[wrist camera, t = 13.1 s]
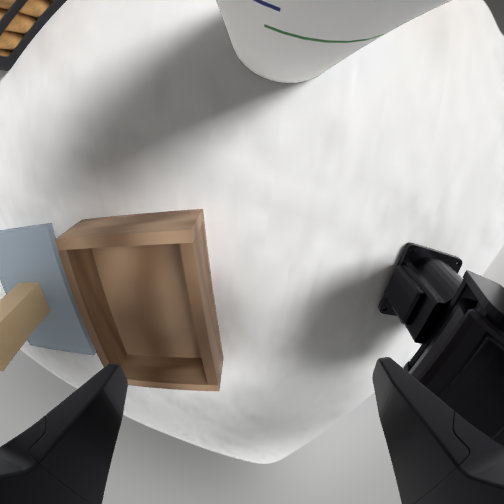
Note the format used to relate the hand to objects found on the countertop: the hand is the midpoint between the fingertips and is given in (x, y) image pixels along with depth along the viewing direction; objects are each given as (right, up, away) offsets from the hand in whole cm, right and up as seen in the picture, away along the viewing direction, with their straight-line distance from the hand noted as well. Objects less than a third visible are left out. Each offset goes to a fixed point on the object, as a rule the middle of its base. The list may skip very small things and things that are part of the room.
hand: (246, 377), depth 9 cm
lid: (-21, 0, +15) cm, 26 cm away
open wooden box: (-8, +1, +14) cm, 16 cm away
